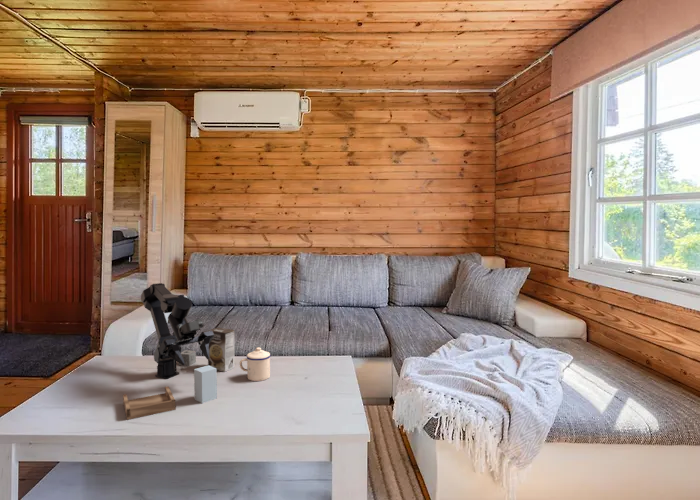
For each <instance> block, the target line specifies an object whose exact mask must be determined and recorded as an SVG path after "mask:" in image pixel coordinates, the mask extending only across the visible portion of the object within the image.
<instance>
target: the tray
mask: <svg viewBox="0 0 700 500" xmlns="http://www.w3.org/2000/svg"><path fill="white" fill-rule="evenodd" d="M128 398H129V397H128V395H127V393H125V394H123V395H122V404H123V408H124V409H123V410H124V412H125V416H126V417H125V418H126V420H127V421H128V420H129V421H130V420H134V419H138V418H142V417H147V416H152V415H153V416H154V415H157V414H161V413H166V412H170V411H176V409H177V404H176V399H175V396H174V395H173V393H172V391H171V389H170V387H169V386H165V387H164V393H158V394H154V395H147V396H142V397H137V398H133V399H132V398H131V399H128Z"/></svg>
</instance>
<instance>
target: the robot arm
mask: <svg viewBox="0 0 700 500" xmlns="http://www.w3.org/2000/svg"><path fill="white" fill-rule="evenodd" d="M140 301H141V303H143V306H144V308H145V309H146V310H147V311H149V312H150V315H151V318H152V322H153V325H154V329H155V332H156V336H157V338H158V341H157V343H156V347H155V350H154V351H155V352H154V353H153V360H154V362H155V363H156V364H157V366H156V370H157V371H156V373H157V374H155V375H154V376H155V377H158V378H161V379H165V380H167V379H170V378H173V377H175V376H178V375H180V372H179V371H177V370H178V369H177V363H178V364H179V363H180V364H181V365H180V366H183V367H184V365H185V362H184V360H183V357H182V355H181V352H182V346H185V345H189V344H194V343H198V345H199V349H200V350H201V352H202V354H203V355H204V357H205V358H206V360H208V359H209V343H210V342H211V340H212V339H213V337H214V336H215V335H214V333H213V331H211V329H208V330H204V331H201V328H204V326H205V325H204V324H205V323H204V321H203V319H202V318H196V319H195V320H194V321H190V322H189V321H188V319H187V317H188V316H189V313H190V311H191V309H192V306H193V301H192V300H191V299H190V298H189V297H186V296H185V295H184V294H174V293H172V292H171V291H170V290H169V289H168V288H167V287H166V284H165V283H163V282H158V283H152V284H150V285H149V287H147V288H145V289H143V291H142V293H141V295H140ZM168 313H169V314H168ZM165 314H168V317H167V318H166V315H165ZM168 324H170V327H171V329H172V334H171V332H170V331H171V330H170V328H169V325H168ZM198 331H201V333H200V334H199V335H197V333H198ZM196 335H197V336H196Z"/></svg>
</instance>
